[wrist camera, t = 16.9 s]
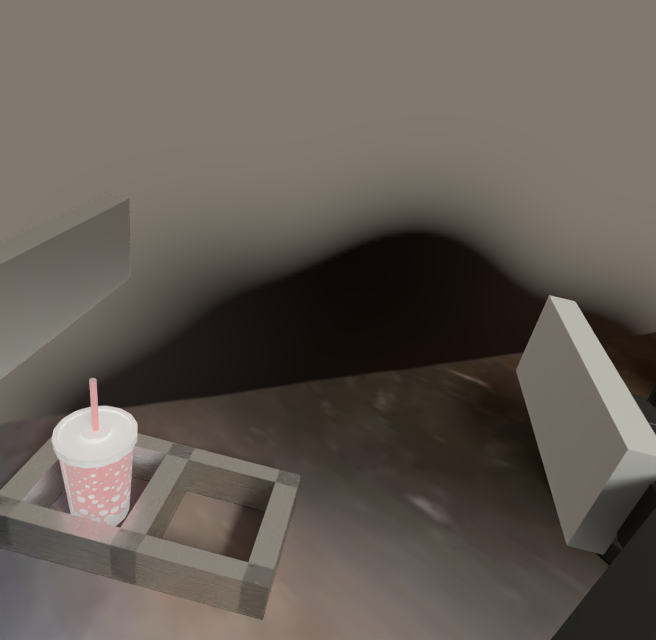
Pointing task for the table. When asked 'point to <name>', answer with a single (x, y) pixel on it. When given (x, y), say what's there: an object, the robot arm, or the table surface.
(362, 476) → the table surface
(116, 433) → the beverage cup
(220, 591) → the grey hollow block
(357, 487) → the table surface
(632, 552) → the robot arm
